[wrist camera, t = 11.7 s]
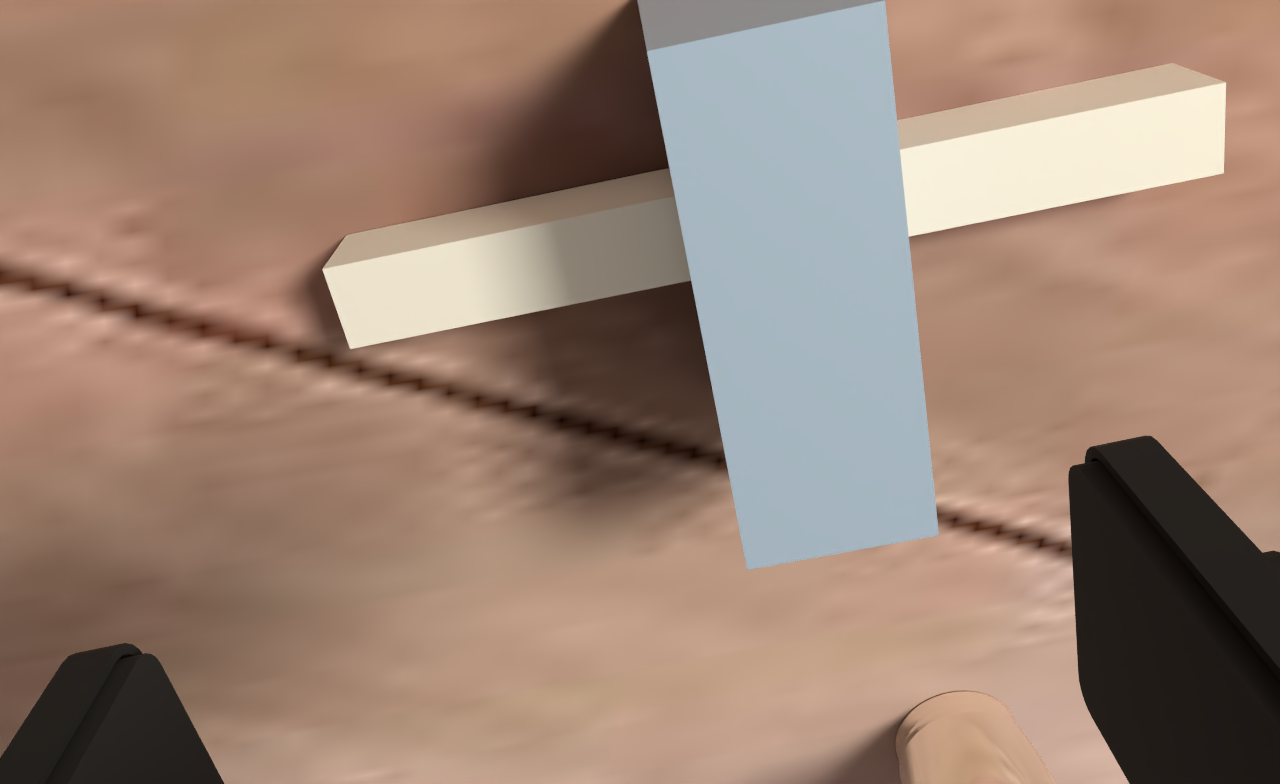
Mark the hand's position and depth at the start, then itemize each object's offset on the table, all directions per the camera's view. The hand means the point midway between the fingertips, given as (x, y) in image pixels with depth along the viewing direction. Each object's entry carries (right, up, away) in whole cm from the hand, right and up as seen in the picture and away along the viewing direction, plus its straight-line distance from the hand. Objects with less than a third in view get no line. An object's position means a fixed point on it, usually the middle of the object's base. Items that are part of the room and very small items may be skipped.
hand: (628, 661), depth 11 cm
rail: (+3, +9, +21) cm, 23 cm away
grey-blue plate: (+3, +9, +21) cm, 23 cm away
